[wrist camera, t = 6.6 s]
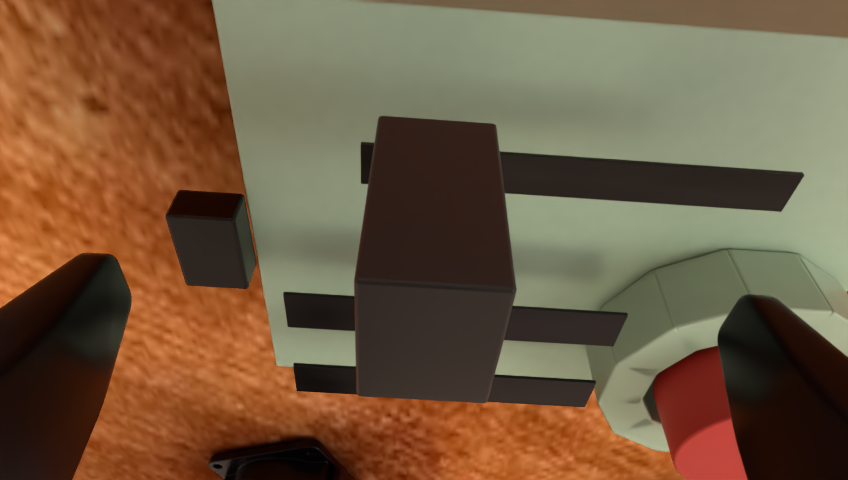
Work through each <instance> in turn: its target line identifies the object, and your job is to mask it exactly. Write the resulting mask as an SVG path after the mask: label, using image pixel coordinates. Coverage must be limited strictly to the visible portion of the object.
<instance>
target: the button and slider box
mask: <svg viewBox="0 0 848 480" xmlns="http://www.w3.org/2000/svg"><path fill="white" fill-rule="evenodd" d="M212 4H213V10H214V16H215V21H216V27H217V32H218V38H219V44H220V49H221V55H222V61H223V66H224V72H225V78H226V83H227V89H228V94H229V100H230V106H231V111H232V117H233V123H234V128H235V134H236V140H237V145H238V151H239V156H240V162H241V168H242V173H243V179H244V185H245V190H246V196H247V202H248V207H249V213H250V218H251V224H252V230H253V235H254V241H255V247H256V252H257V258H258V264H259V269H260V275H261V280H262V286H263V292H264V297H265V303H266V309H267V314H268V320H269V326H270V331H271V337H272V342H273V348H274V354H275V359H276V365H277V366H288V367H293V365H294V363H306V364H324V365H341V366H356V350H355V331H343V330H326V329H309V328H292V327H288V326H287V319H286V312H285V305H284V298H283V293H284V292H299V293H315V294H331V295H348V296H354V277H355V271H356V264H357V257H358V250H359V244H360V237H361V230H362V223H363V216H364V210H365V203H366V196H367V189H368V184H361V142H372V143H374V142H375V135H376V128H377V122H378V118H379V117H380V116H395V117H409V118H423V119H437V120H451V121H466V122H480V123H493V124H495V125H496V127H497V134H498V142H499V150H500V151H503V152H517V153H532V154H546V155H561V156H575V157H590V158H604V159H619V160H633V161H648V162H662V163H677V164H691V165H706V166H720V167H735V168H749V169H764V170H778V171H793V172H803V174H804V177H803V179H802V180H801V182H800V183H799V185H798V186H797V188H796V190H795V191H794V193H793V194H792V196H791V198H790V199H789V201H788V202H787V204H786V205H785V207H784V209H783V210H782V212H776V211H761V210H746V209H731V208H716V207H701V206H686V205H671V204H656V203H641V202H626V201H611V200H596V199H581V198H567V197H552V196H537V195H522V194H507V193H505V199H506V207H507V215H508V223H509V232H510V240H511V248H512V256H513V264H514V272H515V280H516V288H517V291H516V295H515V299H514V303H513V306H527V307H544V308H560V309H576V310H593V311H609V312H625V313H627V314H628V317H627V319H626V321H625V323H624V325H623V327H622V330H621V332H620V334H619V336H618V338H617V340H616V342H615V344H614V346H613V347H611V346H595V345H578V344H561V343H544V342H527V341H511V340H504V341H503V345H502V349H501V352H500V356H499V360H498V364H497V368H496V372H495V374H497V375H514V376H531V377H549V378H566V379H583V380H595V381H596V384H595V386H594V389H595V394H596V398H597V403H598V405H599V407H600V408H601V410H602V412H603V414H604V416H605V418H606V420H607V422H608V423H609V425H610V427H611V429H612V431H613V432H614V433H615V434H617V435H619V436H622V437H624V438H627V439H629V440H631V441H634V442H636V443H639V444H641V445H643V446H646V447H648V448H650V449H653V450H658V451H669V447H668V444H667V440H666V437H665V434H664V430H663V427H662V424H661V420H660V417H659V413H658V410H657V407H656V403H655V400H654V396H653V385H654V381H655V379H656V377H657V375H658V374H659V373H660V372H661V371H663V370H665V369H666V368H668V367H670V366H671V365H673V364H675V363H676V362H678V361H680V360H681V359H683V358H685V357H686V356H688V355H690V354H692V353H693V352H695V351H697V350H701V349H705V348H709V347H713V346H718V342H717V337H718V332H719V329H720V327H721V325H722V324H723V322H724V320H725V319H726V317H727V316H728V314H729V313H730V311H731V310H732V308H733V307H734V305H735V304H736V302H737V301H738V299H739V298H740V297H742V296H743V295H746V294H755V295H769V296H773V297H775V298H777V299H778V300H780V301H781V302H782V303H783V304H785V305H786V306H787V307H788V308H789V309H791V310H792V311H793V312H794V313H795V314H797V315H798V316H799V317H800V318H802V319H803V320H804V321H805V322H806V323H808V324H809V325H810V326H811V327H812V328H814V329H815V330H816V331H817V332H818V333H820V334H821V335H822V336H823V337H824V338H826V339H827V340H828V341H829V342H830V343H832V344H833V345H834V346H835V347H836V348H838V349H839V350H840V351H841V352H843V353H844V354H845V355H846V356H847V357H848V295H847V293H846V291H847V290H848V0H212Z"/></svg>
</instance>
